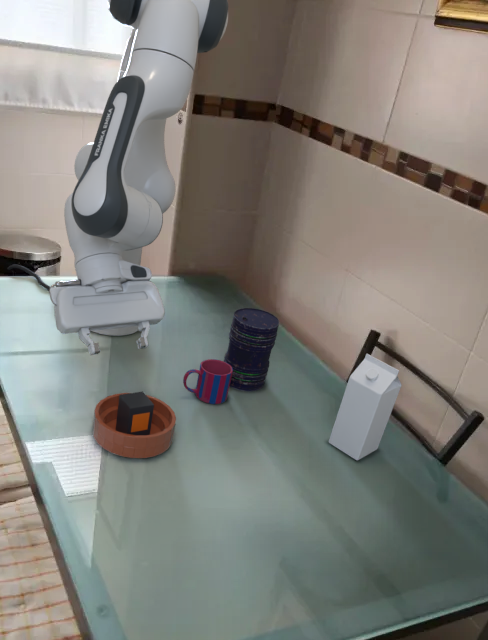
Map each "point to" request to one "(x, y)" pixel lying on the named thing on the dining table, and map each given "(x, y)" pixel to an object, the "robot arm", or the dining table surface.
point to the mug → (211, 381)
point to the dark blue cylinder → (250, 347)
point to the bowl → (126, 442)
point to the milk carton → (365, 408)
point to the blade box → (134, 414)
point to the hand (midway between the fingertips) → (119, 350)
